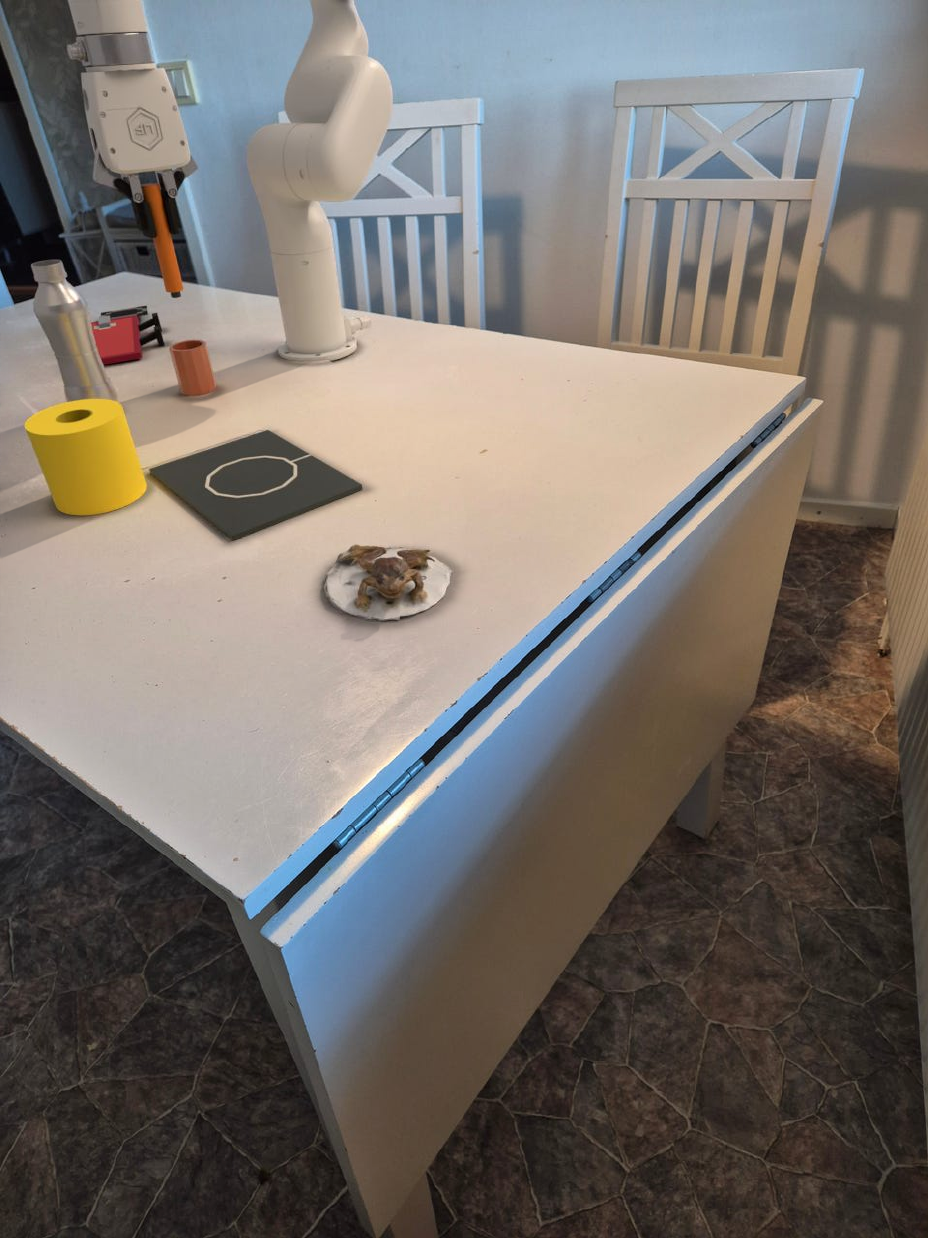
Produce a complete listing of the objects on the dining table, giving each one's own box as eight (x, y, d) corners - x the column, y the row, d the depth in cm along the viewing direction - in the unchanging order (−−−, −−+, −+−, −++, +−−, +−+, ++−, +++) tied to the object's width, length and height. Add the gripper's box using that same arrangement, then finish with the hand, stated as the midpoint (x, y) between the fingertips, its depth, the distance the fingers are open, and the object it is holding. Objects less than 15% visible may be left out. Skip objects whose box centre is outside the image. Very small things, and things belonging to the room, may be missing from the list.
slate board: (268, 433, 105) (267, 428, 104) (362, 489, 91) (362, 483, 90) (150, 473, 97) (148, 468, 97) (232, 540, 83) (231, 535, 82)
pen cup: (208, 384, 121) (196, 337, 117) (223, 392, 118) (211, 344, 114) (176, 393, 119) (163, 345, 115) (190, 402, 115) (178, 353, 111)
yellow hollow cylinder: (156, 497, 92) (132, 418, 86) (64, 524, 88) (32, 443, 82) (134, 467, 99) (111, 391, 93) (48, 490, 95) (18, 413, 89)
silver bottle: (106, 424, 110) (54, 269, 98) (62, 423, 112) (6, 269, 100) (131, 406, 115) (85, 256, 103) (89, 405, 117) (38, 257, 105)
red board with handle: (158, 308, 156) (76, 321, 153) (153, 293, 154) (71, 306, 151) (166, 356, 133) (70, 373, 130) (161, 339, 131) (64, 355, 128)
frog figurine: (466, 609, 71) (464, 572, 69) (329, 632, 69) (322, 595, 67) (441, 544, 80) (439, 510, 78) (320, 563, 78) (314, 528, 76)
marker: (181, 293, 106) (154, 182, 99) (187, 296, 105) (161, 183, 97) (165, 296, 105) (137, 184, 98) (171, 299, 104) (143, 186, 96)
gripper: (53, 58, 84) (107, 249, 95) (199, 50, 91) (233, 228, 102) (34, 59, 89) (87, 241, 99) (174, 52, 96) (209, 221, 107)
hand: (161, 233), depth 101 cm, fingers closed on marker, 2 cm apart
